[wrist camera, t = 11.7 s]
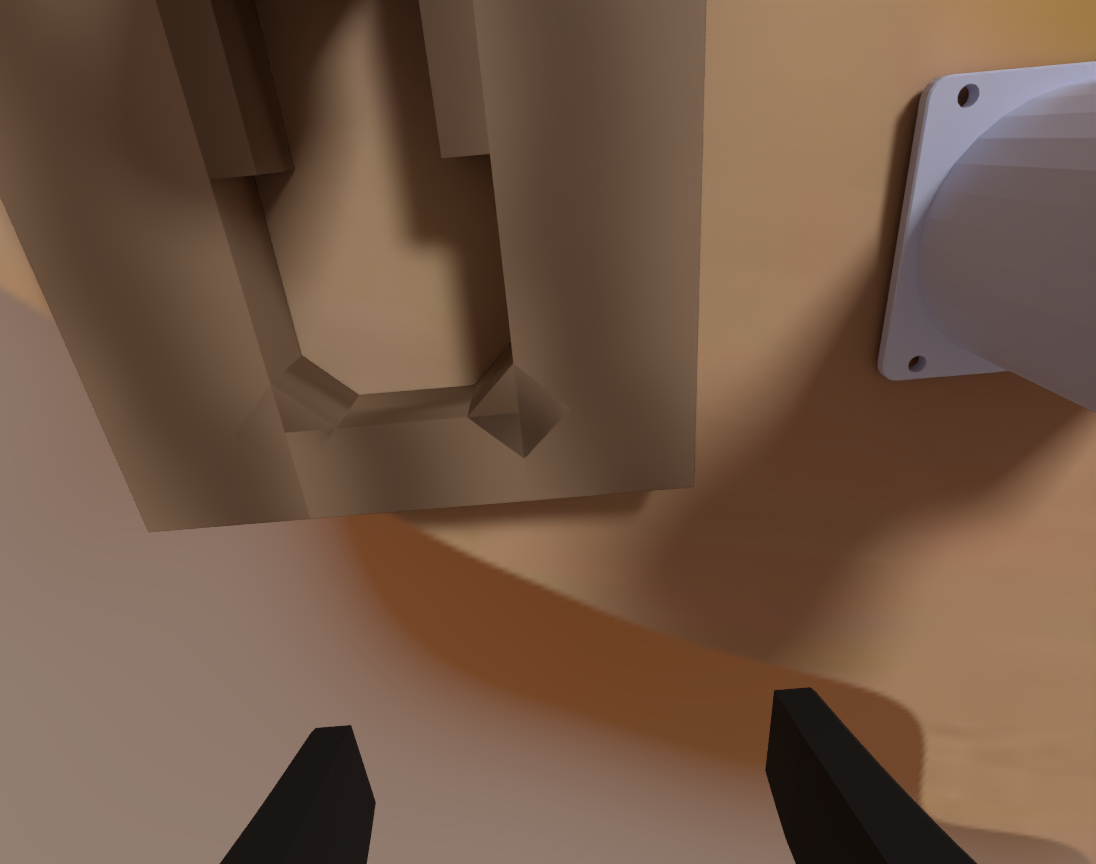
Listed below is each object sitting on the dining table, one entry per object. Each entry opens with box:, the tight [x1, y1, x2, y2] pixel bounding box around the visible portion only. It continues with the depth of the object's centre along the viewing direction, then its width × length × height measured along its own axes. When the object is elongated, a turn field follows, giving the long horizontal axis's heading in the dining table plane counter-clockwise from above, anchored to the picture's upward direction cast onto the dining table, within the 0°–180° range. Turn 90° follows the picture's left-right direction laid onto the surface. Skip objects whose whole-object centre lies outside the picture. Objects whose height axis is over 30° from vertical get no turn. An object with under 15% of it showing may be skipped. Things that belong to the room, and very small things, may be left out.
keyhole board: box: [0, 0, 706, 532], centre depth 14 cm, size 16×22×2 cm
